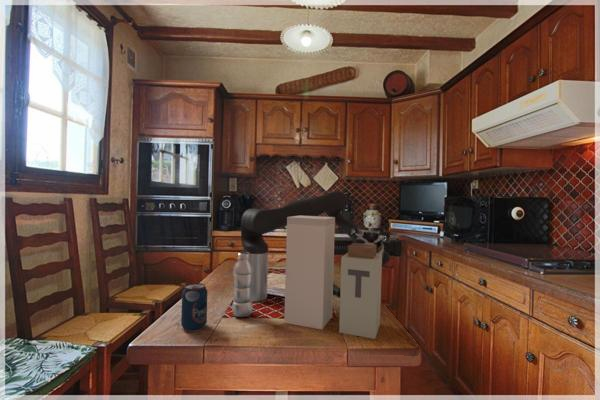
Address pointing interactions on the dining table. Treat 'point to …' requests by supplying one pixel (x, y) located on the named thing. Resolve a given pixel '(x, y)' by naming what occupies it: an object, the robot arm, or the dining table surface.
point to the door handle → (336, 290)
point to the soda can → (194, 307)
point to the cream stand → (309, 271)
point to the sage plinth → (360, 296)
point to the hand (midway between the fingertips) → (368, 227)
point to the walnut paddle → (362, 250)
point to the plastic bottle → (242, 286)
